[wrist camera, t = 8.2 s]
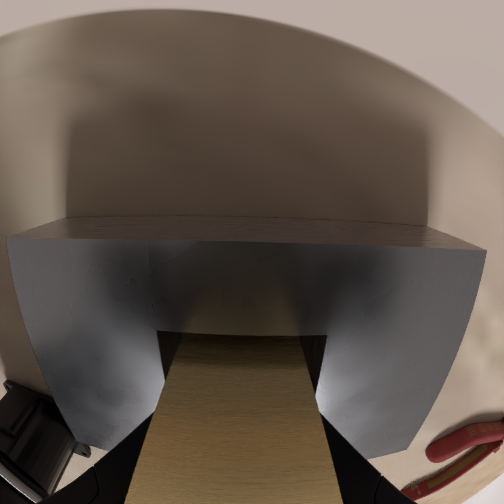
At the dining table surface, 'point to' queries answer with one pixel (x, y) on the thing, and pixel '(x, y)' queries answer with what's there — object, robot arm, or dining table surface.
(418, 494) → the pliers
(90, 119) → the dining table surface
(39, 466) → the robot arm
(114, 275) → the grey block with hole
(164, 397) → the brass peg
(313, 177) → the dining table surface
